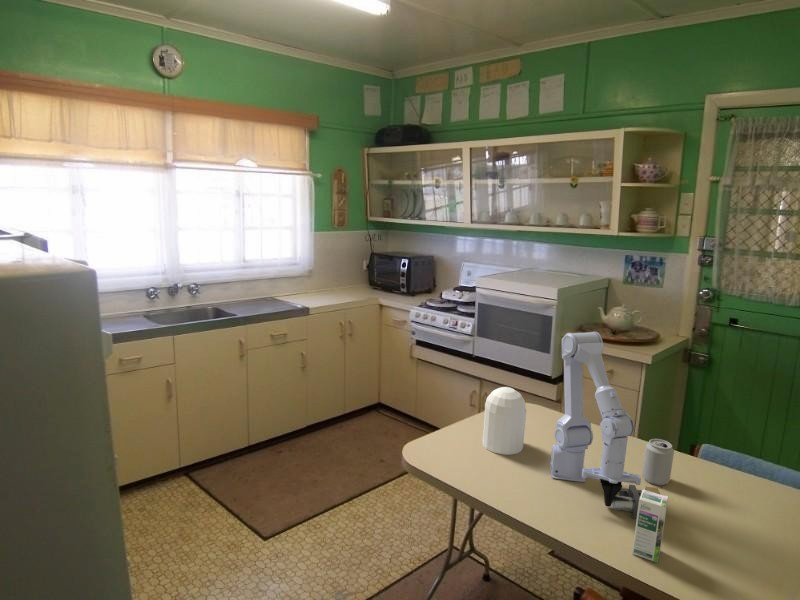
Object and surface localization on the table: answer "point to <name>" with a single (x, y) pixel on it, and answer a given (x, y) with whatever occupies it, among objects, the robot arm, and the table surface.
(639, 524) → the syrup box
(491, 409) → the container
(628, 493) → the collar bracket
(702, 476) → the table surface
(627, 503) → the tube
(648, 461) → the can
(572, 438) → the robot arm
